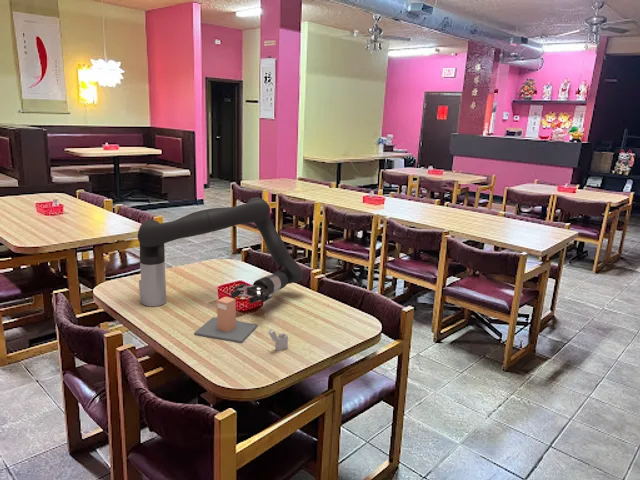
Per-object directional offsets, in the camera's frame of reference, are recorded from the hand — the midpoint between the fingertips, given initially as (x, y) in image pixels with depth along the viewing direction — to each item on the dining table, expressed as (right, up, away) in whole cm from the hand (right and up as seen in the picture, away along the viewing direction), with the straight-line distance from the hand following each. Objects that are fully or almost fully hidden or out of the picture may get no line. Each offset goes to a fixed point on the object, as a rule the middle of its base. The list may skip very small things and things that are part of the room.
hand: (240, 298), depth 177 cm
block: (-4, -10, -4) cm, 12 cm away
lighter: (+15, -15, -16) cm, 27 cm away
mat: (-4, -11, -4) cm, 13 cm away
